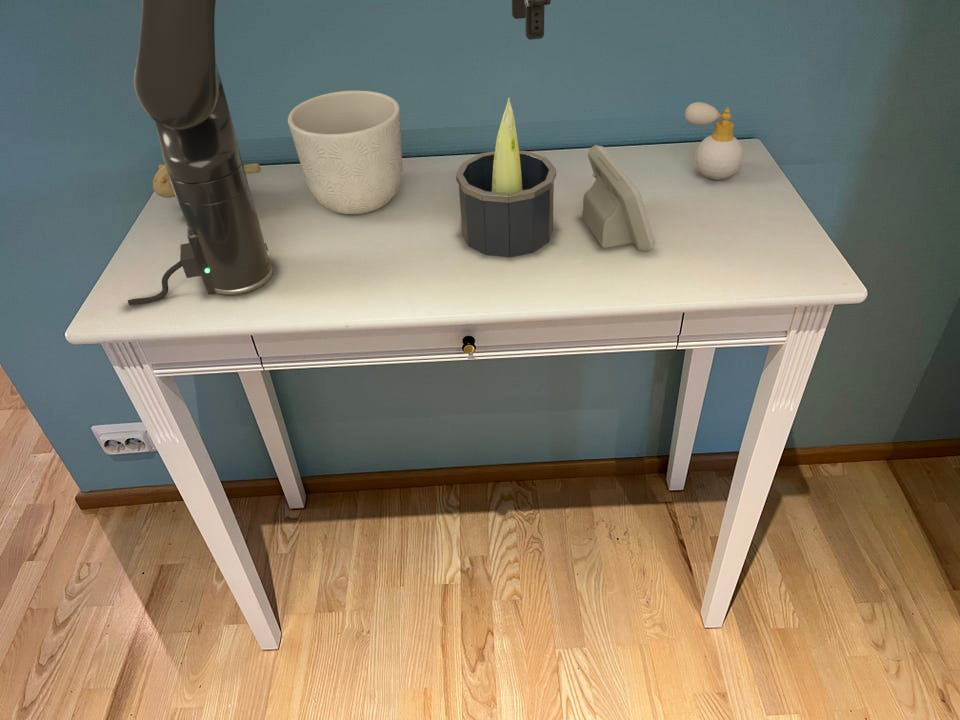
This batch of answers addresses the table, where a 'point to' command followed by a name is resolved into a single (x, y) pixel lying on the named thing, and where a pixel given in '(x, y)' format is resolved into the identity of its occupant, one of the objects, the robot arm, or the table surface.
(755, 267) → the table surface
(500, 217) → the pail
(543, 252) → the table surface
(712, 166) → the perfume bottle
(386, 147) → the planter
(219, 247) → the robot arm
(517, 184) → the yellow elongated tapered cylinder
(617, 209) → the digital clock
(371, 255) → the table surface
